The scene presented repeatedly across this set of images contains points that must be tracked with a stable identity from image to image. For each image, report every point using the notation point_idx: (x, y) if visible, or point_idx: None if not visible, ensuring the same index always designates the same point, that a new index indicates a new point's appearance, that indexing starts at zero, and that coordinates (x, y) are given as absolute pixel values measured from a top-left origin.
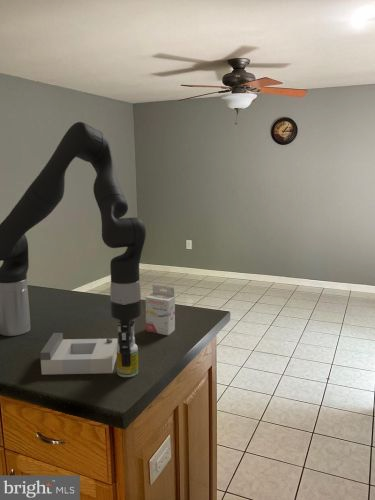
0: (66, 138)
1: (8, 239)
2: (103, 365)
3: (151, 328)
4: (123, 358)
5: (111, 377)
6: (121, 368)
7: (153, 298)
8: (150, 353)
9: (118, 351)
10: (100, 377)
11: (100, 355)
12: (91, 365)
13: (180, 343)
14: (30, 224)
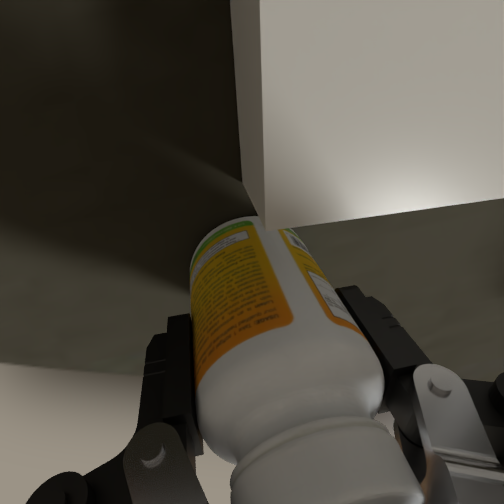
0: None
1: None
2: (249, 137)
3: None
4: (144, 392)
5: (186, 191)
6: (196, 282)
7: None
8: (432, 307)
9: (223, 369)
10: (175, 112)
11: (347, 101)
12: (242, 3)
13: (474, 372)
14: None
